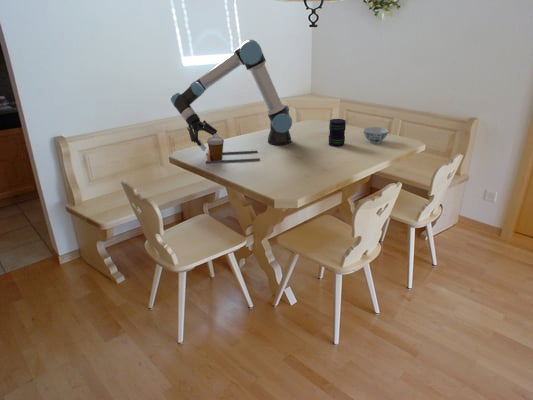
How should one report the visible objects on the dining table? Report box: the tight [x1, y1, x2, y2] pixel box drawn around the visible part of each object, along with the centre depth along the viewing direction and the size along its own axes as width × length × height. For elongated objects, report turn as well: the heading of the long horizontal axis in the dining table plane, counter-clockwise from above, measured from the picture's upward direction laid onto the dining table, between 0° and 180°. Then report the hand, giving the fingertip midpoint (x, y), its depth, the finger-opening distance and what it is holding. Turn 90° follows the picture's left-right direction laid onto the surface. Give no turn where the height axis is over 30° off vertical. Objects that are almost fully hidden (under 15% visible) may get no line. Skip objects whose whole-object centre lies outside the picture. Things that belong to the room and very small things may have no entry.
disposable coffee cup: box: [206, 136, 225, 161], centre depth 219 cm, size 10×10×12 cm
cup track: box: [205, 149, 261, 164], centre depth 224 cm, size 30×15×3 cm, turn 96°
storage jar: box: [328, 118, 347, 148], centre depth 241 cm, size 10×10×15 cm
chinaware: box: [363, 126, 389, 145], centre depth 246 cm, size 15×15×8 cm
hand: (212, 146), depth 224 cm, fingers open, 13 cm apart
